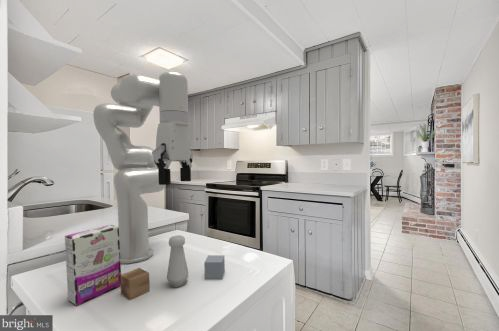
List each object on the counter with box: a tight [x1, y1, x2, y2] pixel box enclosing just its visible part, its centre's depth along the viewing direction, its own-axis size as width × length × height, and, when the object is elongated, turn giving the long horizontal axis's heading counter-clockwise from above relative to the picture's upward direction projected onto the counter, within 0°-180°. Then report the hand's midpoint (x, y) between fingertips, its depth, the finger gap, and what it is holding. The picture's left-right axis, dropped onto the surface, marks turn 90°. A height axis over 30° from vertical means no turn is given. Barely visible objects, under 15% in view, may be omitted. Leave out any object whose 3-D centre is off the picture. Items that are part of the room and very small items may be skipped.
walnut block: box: [120, 267, 151, 301], centre depth 62 cm, size 5×5×5 cm
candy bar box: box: [64, 224, 122, 306], centre depth 62 cm, size 11×5×16 cm, turn 148°
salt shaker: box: [166, 235, 189, 288], centre depth 67 cm, size 6×6×13 cm
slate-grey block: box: [203, 254, 226, 281], centre depth 71 cm, size 5×5×5 cm
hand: (175, 182), depth 66 cm, fingers open, 9 cm apart
